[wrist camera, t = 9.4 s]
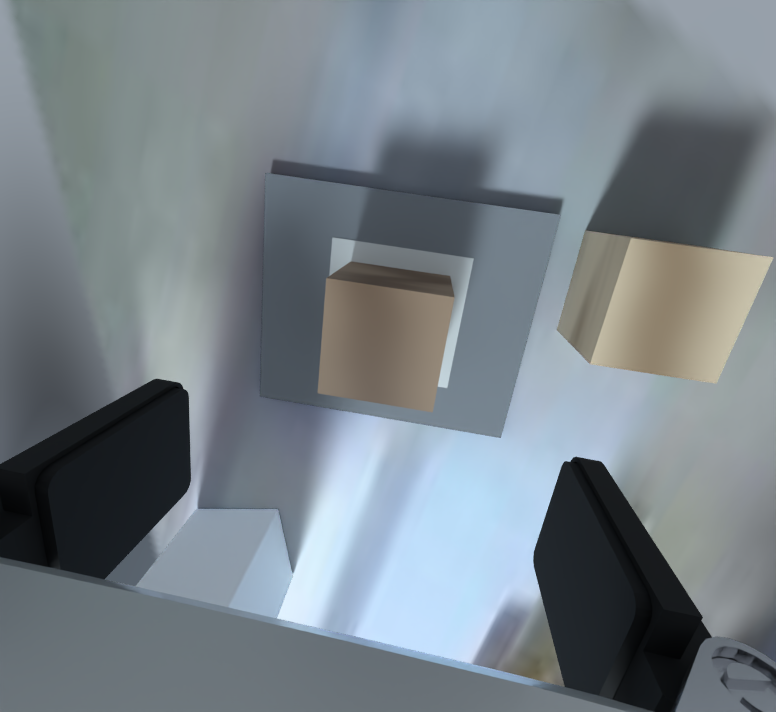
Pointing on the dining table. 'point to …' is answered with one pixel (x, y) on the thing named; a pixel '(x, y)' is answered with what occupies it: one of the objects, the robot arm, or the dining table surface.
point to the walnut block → (384, 335)
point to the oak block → (659, 304)
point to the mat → (411, 252)
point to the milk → (226, 561)
